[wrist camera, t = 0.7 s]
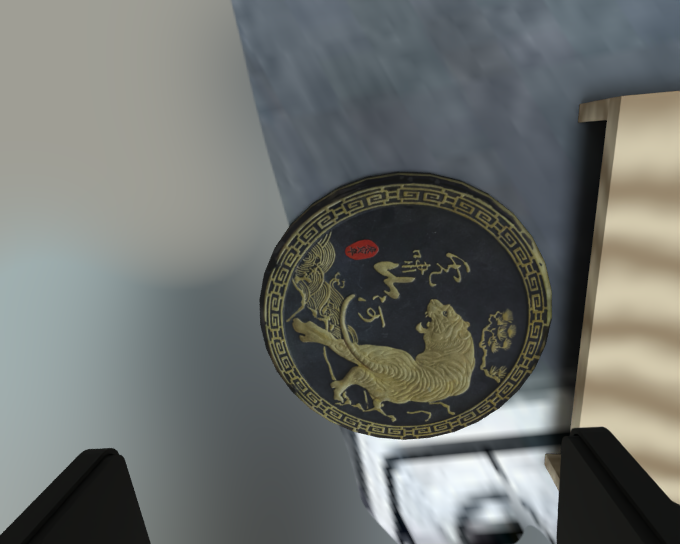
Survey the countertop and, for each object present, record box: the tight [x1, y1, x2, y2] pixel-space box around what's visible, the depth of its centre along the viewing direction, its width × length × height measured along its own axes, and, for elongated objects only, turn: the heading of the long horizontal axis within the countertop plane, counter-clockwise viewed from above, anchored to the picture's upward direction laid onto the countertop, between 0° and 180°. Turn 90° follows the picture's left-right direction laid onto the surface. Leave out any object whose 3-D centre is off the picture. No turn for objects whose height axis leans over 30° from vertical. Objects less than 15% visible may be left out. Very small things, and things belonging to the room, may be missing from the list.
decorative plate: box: [260, 172, 552, 440], centre depth 41 cm, size 30×2×30 cm
